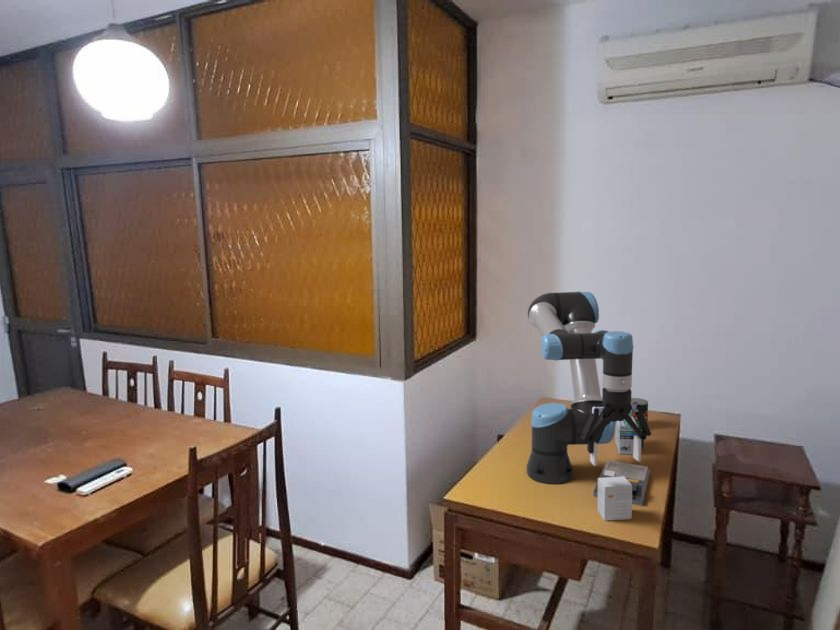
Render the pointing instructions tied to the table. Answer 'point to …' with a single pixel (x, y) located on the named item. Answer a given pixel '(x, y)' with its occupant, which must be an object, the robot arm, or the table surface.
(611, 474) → the block
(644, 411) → the canned tomato
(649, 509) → the table surface
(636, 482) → the block
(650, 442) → the table surface
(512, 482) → the table surface
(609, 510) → the small box
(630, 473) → the panel
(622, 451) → the light bulb box
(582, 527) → the table surface
